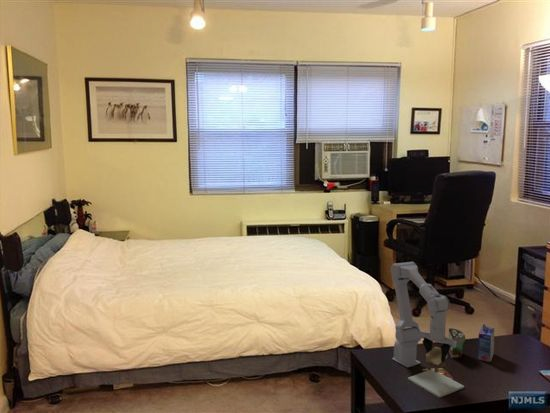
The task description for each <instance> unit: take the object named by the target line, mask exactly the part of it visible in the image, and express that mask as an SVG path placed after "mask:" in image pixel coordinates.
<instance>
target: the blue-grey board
mask: <svg viewBox="0 0 550 413" xmlns="http://www.w3.org/2000/svg"><path fill="white" fill-rule="evenodd" d="M407 380H408V381H410V382H411V383H413V384H415V385H417V386H418V387H419V388H422V389H423V388H424V389H423V390H424V391H427V392H429V393H430V394H432V395H434V396H436V397H437V398H443V397H444V396H447V395H450V394H452V393H455V392H457V391H460V390H462V389H464V388H465V385H463V384H461V383H459V382H457V381H456V380H454V379H452V378H450V377H448V376H446V375H444V374H442V373H441V372H439V371H438V372H437V373H436V372H434V369H433V368H431V370H428V369H427V370H426V371H422V372H420V373H417V374H414V375H412V376H409V377H407Z"/></svg>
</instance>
